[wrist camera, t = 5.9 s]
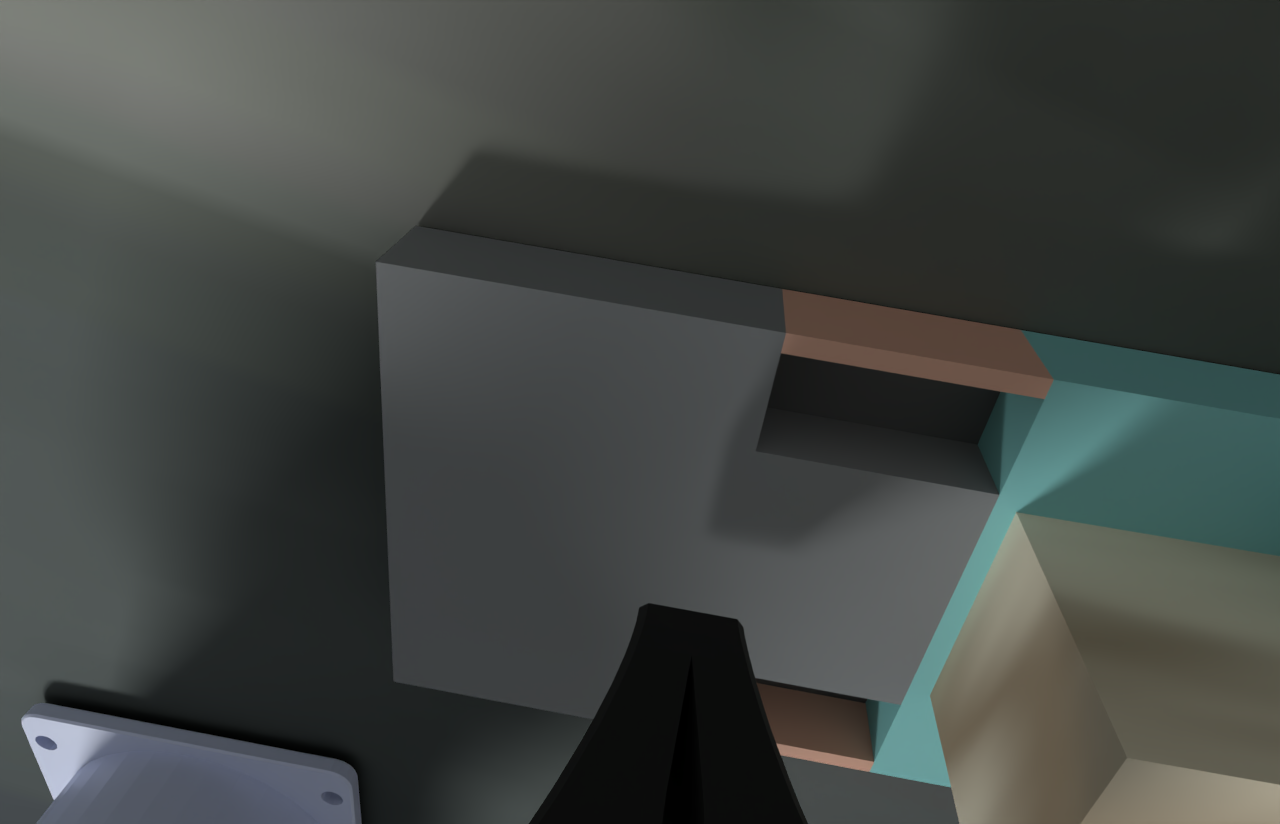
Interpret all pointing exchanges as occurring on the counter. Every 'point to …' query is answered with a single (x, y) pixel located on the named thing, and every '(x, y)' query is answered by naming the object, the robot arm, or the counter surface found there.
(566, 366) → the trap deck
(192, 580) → the counter surface
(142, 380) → the counter surface
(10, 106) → the counter surface
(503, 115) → the counter surface
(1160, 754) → the maple block
